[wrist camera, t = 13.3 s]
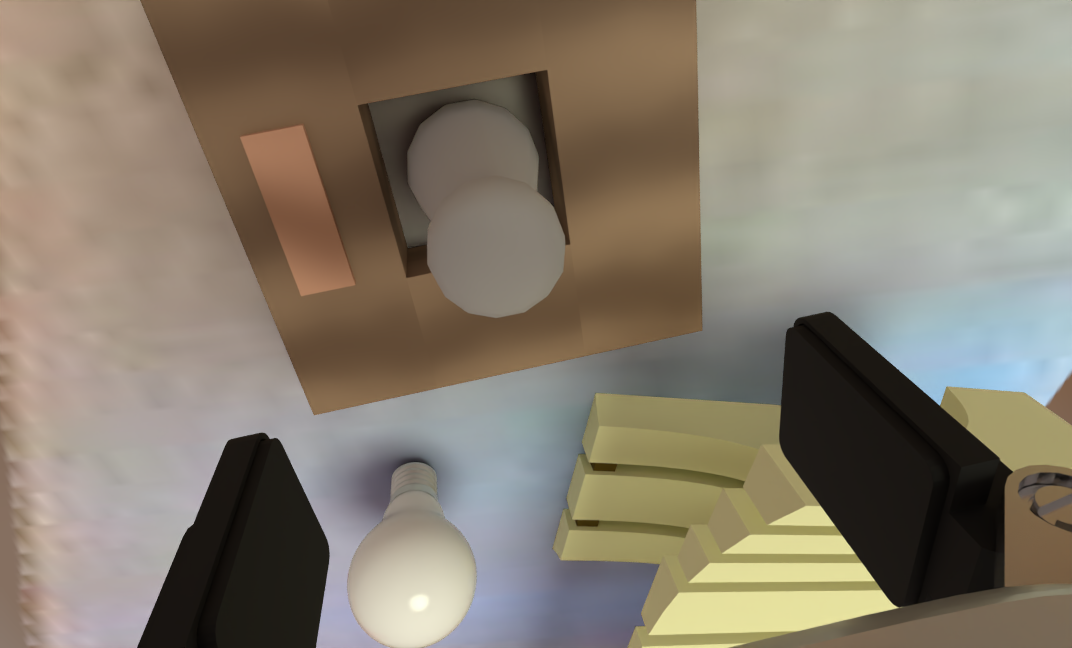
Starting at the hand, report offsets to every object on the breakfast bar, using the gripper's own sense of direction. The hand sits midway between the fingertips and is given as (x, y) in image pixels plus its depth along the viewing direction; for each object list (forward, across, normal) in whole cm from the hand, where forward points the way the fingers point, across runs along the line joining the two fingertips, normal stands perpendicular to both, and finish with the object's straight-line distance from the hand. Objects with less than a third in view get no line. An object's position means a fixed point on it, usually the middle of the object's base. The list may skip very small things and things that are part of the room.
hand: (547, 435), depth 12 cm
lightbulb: (+21, +7, +19) cm, 29 cm away
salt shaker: (+21, 0, 0) cm, 21 cm away
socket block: (+21, 0, +1) cm, 21 cm away
